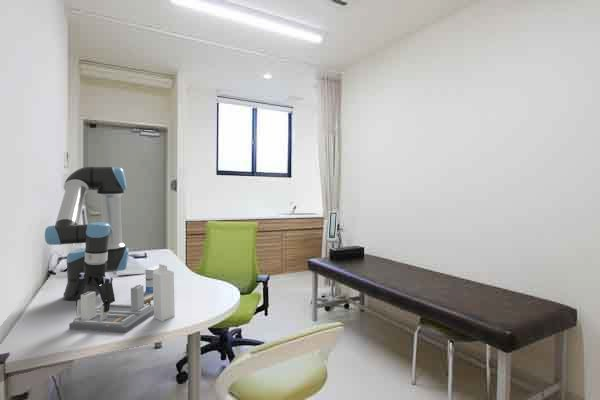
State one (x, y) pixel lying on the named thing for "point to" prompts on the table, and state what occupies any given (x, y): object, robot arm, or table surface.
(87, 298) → the block
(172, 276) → the milk
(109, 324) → the grey flat tray
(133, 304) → the fader
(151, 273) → the ink box
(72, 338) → the table surface
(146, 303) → the figurine
